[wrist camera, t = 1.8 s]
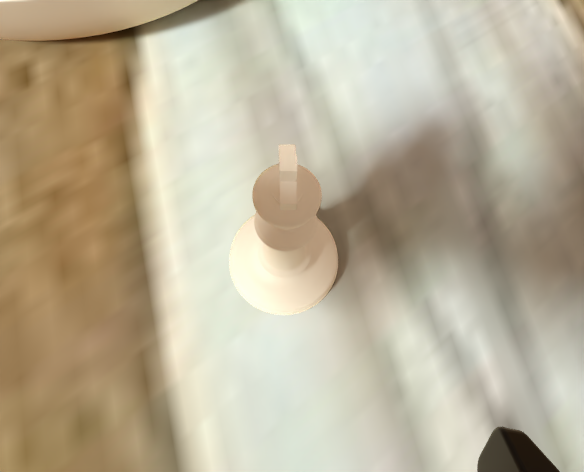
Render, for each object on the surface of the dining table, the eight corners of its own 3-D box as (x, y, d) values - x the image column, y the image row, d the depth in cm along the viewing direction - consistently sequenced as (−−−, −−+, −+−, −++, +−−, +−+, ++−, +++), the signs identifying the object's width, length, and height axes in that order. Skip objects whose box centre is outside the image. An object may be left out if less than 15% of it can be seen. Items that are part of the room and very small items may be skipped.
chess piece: (334, 209, 22) (379, 77, 12) (340, 313, 20) (395, 258, 11) (230, 210, 22) (191, 78, 12) (228, 316, 20) (183, 262, 11)
